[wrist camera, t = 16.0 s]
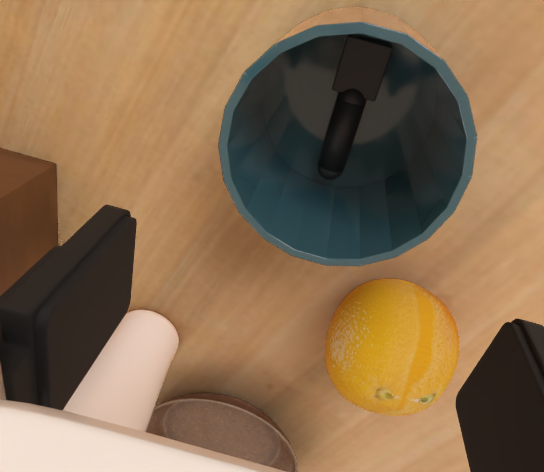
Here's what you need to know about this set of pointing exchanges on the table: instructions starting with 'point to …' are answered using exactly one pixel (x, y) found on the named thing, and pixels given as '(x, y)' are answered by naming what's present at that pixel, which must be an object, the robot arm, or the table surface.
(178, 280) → the table surface
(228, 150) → the tumbler
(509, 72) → the table surface
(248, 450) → the saucer
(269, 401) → the table surface
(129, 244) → the robot arm
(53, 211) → the stand
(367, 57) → the dark grey mallet
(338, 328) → the fruit
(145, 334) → the tall white cup
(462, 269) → the table surface
